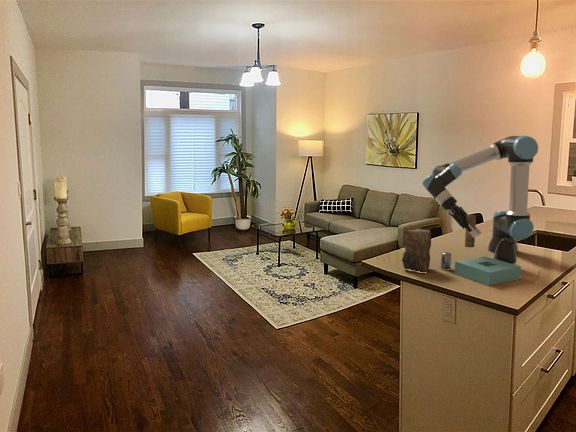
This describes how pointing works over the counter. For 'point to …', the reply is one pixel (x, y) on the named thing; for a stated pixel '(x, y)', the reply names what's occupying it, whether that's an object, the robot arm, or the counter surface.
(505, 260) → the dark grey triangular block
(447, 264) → the short steel pin
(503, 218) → the robot arm
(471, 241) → the long walnut pin
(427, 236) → the rough brown stone
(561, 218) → the counter surface
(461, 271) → the socket block
